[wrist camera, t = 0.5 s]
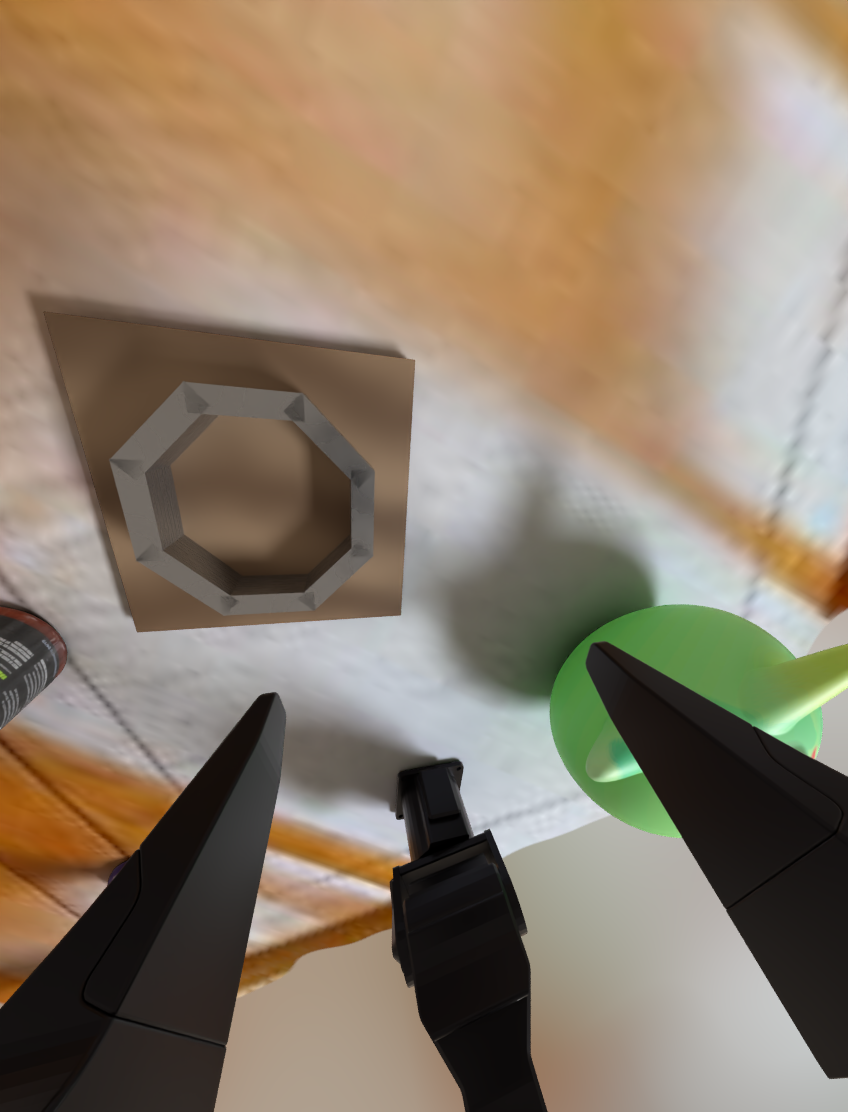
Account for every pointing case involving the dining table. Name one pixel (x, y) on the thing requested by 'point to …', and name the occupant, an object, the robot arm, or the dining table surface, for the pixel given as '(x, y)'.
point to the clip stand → (246, 460)
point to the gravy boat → (706, 668)
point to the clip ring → (159, 520)
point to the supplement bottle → (26, 660)
